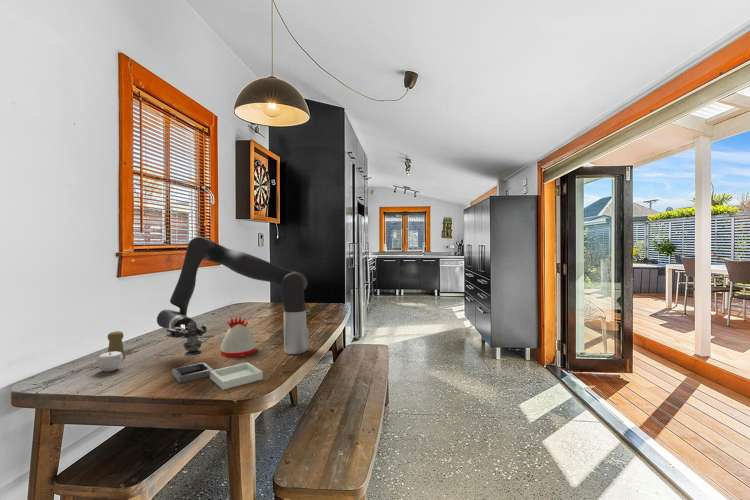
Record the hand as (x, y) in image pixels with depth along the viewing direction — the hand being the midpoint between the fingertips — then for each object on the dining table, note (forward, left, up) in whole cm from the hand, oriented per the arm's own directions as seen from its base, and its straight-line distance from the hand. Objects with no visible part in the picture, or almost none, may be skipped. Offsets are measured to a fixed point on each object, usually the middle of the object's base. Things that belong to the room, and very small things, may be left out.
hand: (194, 334), depth 123 cm
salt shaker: (0, -3, -7) cm, 8 cm away
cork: (+18, -43, -15) cm, 49 cm away
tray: (-10, +11, -15) cm, 21 cm away
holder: (0, -3, -15) cm, 15 cm away
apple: (+21, -29, -15) cm, 39 cm away
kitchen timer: (-22, -19, -15) cm, 33 cm away
